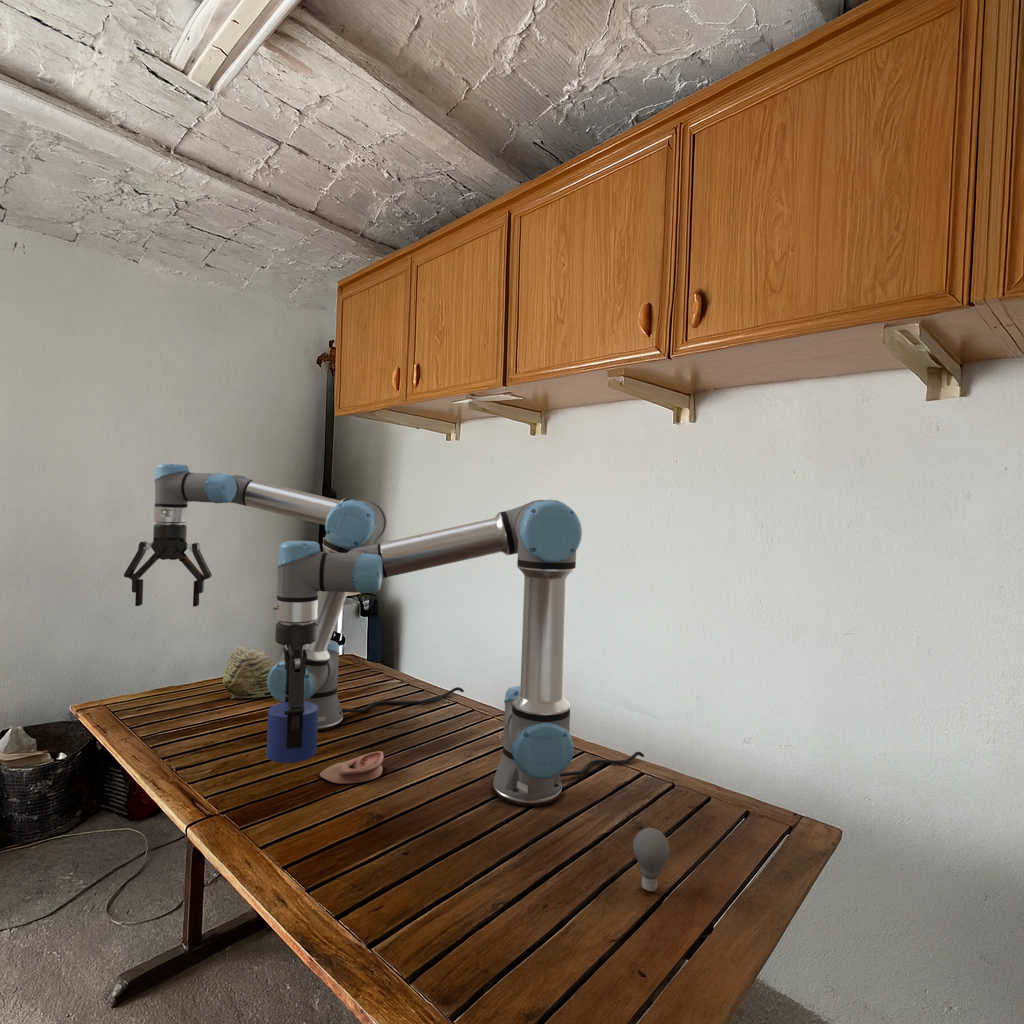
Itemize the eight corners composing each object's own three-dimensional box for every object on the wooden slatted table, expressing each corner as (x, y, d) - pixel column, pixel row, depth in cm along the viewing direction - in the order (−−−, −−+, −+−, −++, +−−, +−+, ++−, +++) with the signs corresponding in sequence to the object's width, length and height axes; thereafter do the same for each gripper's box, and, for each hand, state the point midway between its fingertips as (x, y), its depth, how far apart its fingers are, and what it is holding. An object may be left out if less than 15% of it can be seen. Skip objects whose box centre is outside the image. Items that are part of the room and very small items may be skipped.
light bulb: (627, 878, 109) (629, 820, 109) (660, 878, 109) (663, 821, 109) (636, 900, 103) (639, 839, 103) (672, 900, 104) (675, 839, 103)
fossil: (218, 695, 195) (220, 647, 195) (278, 685, 208) (279, 640, 207) (228, 703, 189) (230, 653, 188) (289, 692, 201) (290, 645, 201)
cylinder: (270, 766, 116) (272, 719, 116) (263, 748, 124) (264, 704, 124) (321, 758, 120) (323, 713, 120) (311, 741, 128) (312, 698, 128)
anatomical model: (313, 762, 141) (337, 743, 152) (312, 780, 141) (337, 759, 152) (369, 770, 138) (389, 750, 149) (368, 788, 138) (389, 767, 149)
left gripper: (110, 522, 157) (108, 607, 158) (218, 526, 163) (215, 608, 163) (123, 521, 165) (120, 602, 165) (225, 524, 170) (222, 603, 170)
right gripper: (274, 611, 130) (270, 720, 131) (277, 634, 110) (273, 762, 110) (312, 610, 133) (308, 717, 133) (322, 632, 113) (317, 757, 113)
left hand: (167, 605), depth 164 cm, fingers open, 13 cm apart
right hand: (292, 737), depth 122 cm, fingers closed on cylinder, 9 cm apart
